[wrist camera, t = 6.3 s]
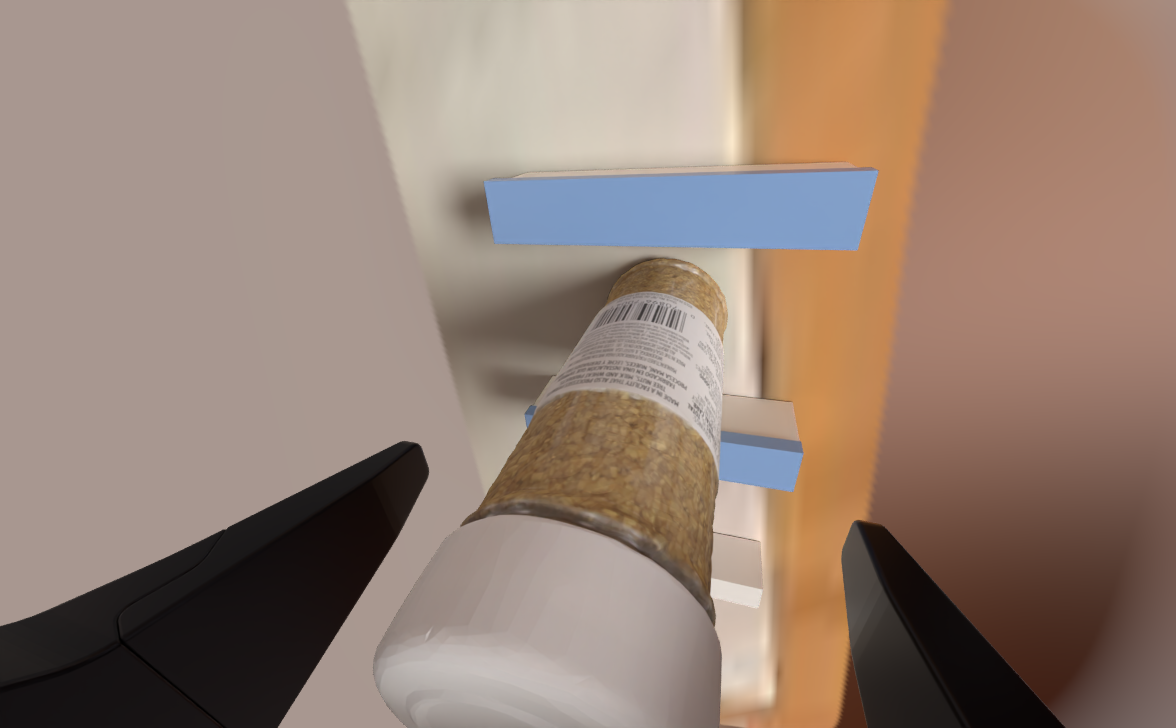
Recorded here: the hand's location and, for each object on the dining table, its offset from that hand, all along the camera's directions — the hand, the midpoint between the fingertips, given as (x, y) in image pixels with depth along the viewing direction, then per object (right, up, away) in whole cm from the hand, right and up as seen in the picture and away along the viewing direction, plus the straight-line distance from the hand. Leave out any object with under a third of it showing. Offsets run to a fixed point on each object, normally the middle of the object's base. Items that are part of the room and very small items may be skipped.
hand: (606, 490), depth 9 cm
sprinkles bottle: (+3, +5, +7) cm, 9 cm away
